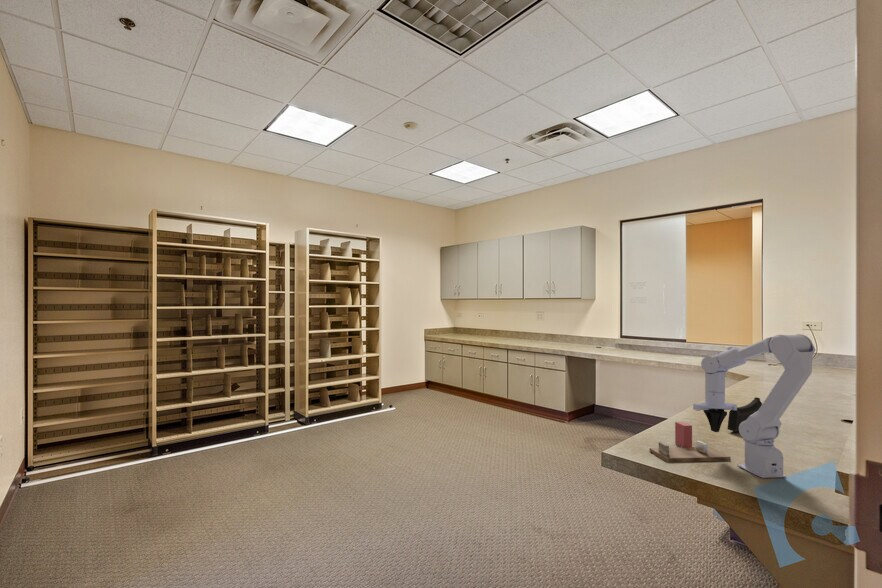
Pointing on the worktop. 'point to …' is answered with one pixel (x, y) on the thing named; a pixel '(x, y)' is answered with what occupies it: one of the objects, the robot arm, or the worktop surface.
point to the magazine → (742, 414)
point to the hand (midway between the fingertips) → (715, 431)
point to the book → (683, 434)
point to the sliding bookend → (701, 447)
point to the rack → (687, 454)
